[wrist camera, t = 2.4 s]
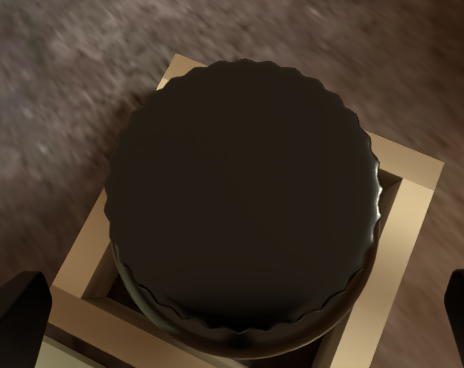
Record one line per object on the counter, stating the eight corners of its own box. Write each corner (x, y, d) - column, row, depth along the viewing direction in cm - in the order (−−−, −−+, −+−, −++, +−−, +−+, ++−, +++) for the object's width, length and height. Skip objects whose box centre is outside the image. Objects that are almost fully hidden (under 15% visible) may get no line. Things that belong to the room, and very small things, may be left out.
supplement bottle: (140, 215, 19) (-22, 107, 8) (272, 143, 20) (308, -60, 8) (214, 358, 18) (152, 495, 6) (354, 275, 18) (541, 257, 7)
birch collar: (317, 437, 17) (331, 468, 14) (68, 310, 18) (35, 315, 16) (414, 181, 19) (444, 162, 16) (185, 86, 21) (175, 53, 18)
